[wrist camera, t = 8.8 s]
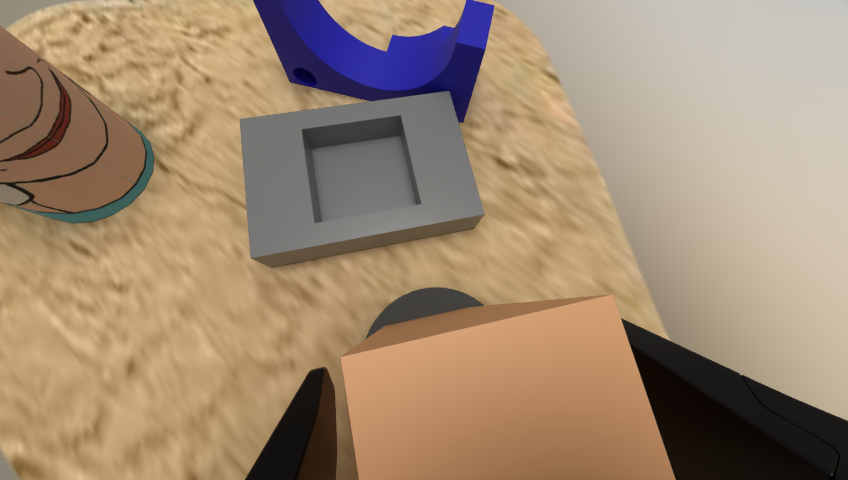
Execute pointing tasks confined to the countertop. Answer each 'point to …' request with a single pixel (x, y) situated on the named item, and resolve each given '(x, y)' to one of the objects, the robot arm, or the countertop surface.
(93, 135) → the cup
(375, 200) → the socket block
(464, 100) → the cable clip
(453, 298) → the coaster
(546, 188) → the countertop surface
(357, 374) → the tan rectangular block
